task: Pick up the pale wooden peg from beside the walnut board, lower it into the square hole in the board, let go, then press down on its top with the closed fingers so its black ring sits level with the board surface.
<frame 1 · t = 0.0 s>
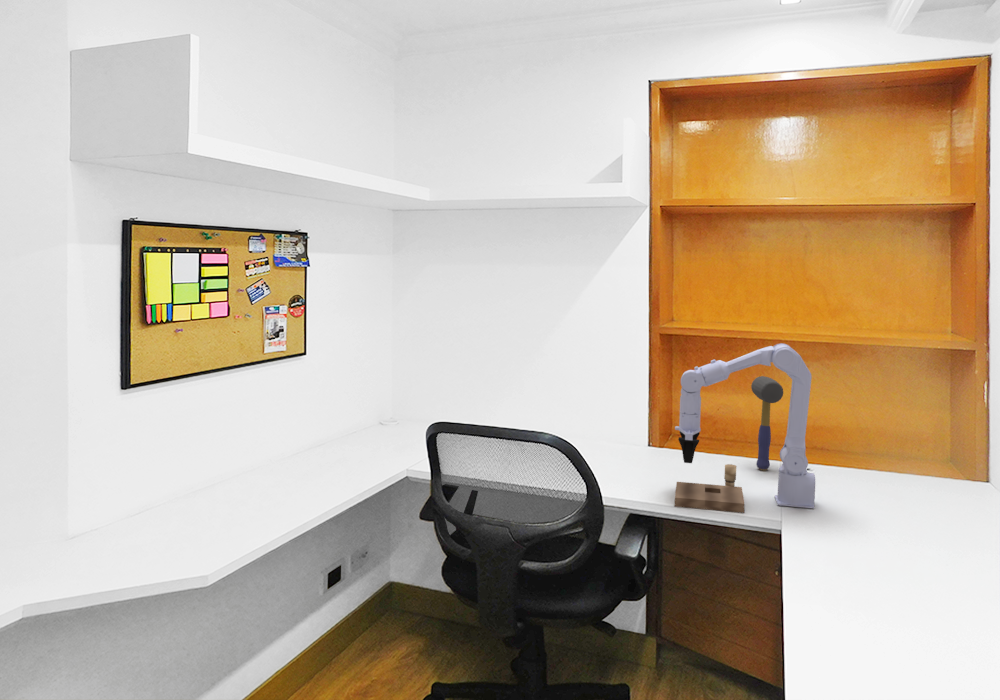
hand: (688, 459, 206), 10 cm above the table, tool pointing down, fingers open, 7 cm apart
peg: (729, 489, 211), on the table
rubber mallet: (762, 470, 231), on the table
board: (716, 500, 201), on the table
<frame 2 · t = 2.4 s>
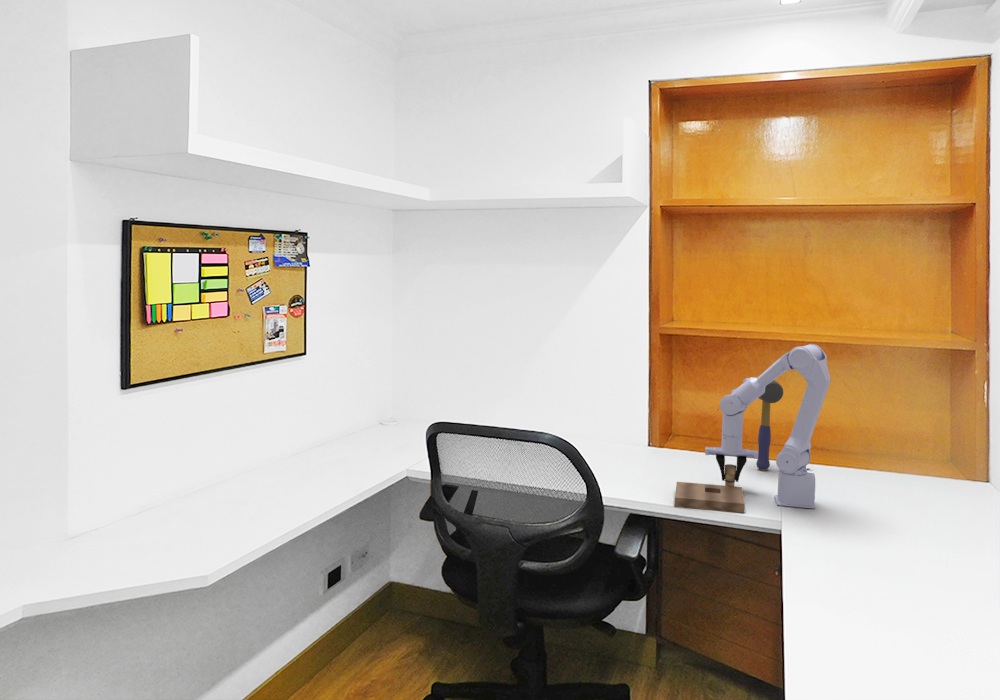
hand: (730, 480, 211), 3 cm above the table, tool pointing down, fingers closed on peg, 3 cm apart
peg: (729, 489, 211), on the table, touching gripper
everything else where it was.
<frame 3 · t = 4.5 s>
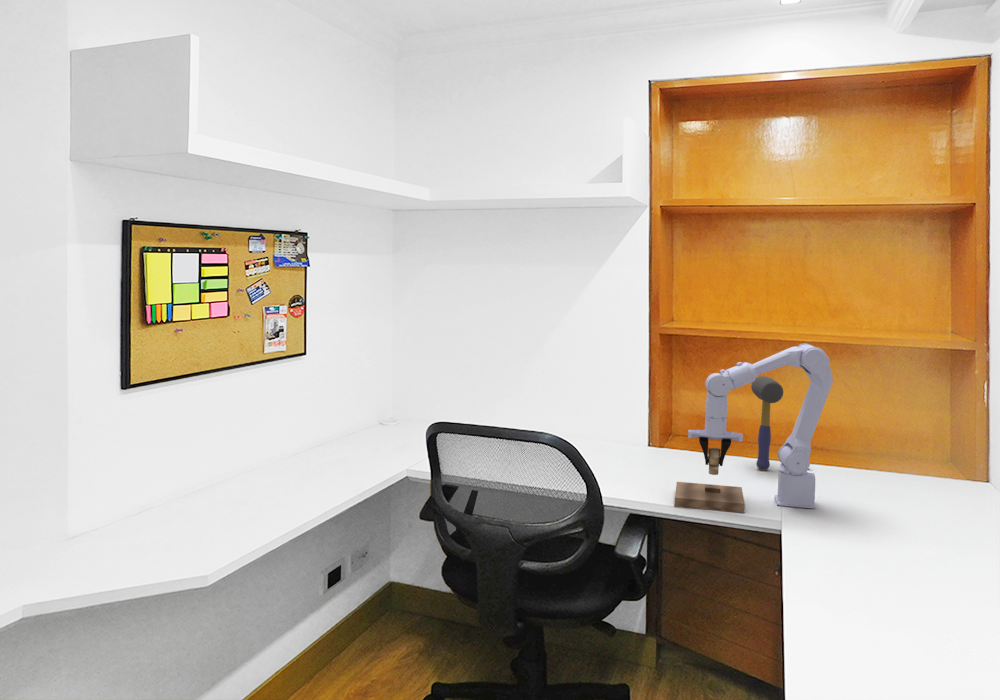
hand: (713, 464, 201), 10 cm above the table, tool pointing down, fingers closed on peg, 3 cm apart
peg: (713, 473, 202), point 7 cm above the table, touching gripper
everything else where it was.
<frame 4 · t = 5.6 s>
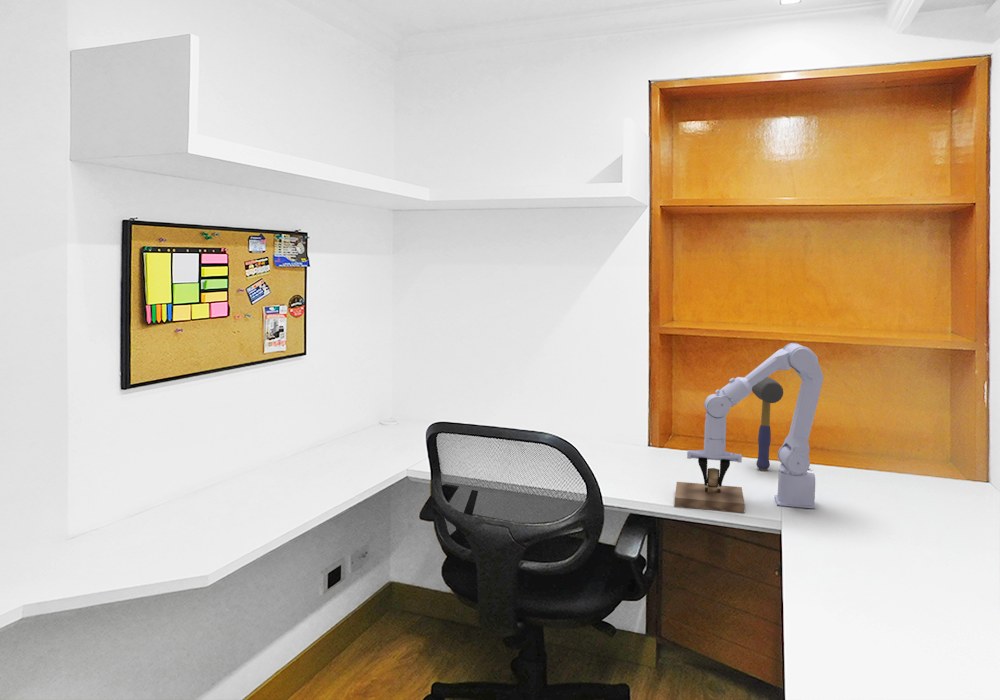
hand: (712, 485, 202), 4 cm above the table, tool pointing down, fingers closed on peg, 3 cm apart
peg: (712, 493, 202), point 1 cm above the table, touching gripper
everything else where it was.
when the fingers open (4 cm above the table, at t = 6.4 s): peg drops 1 cm, resting in board.
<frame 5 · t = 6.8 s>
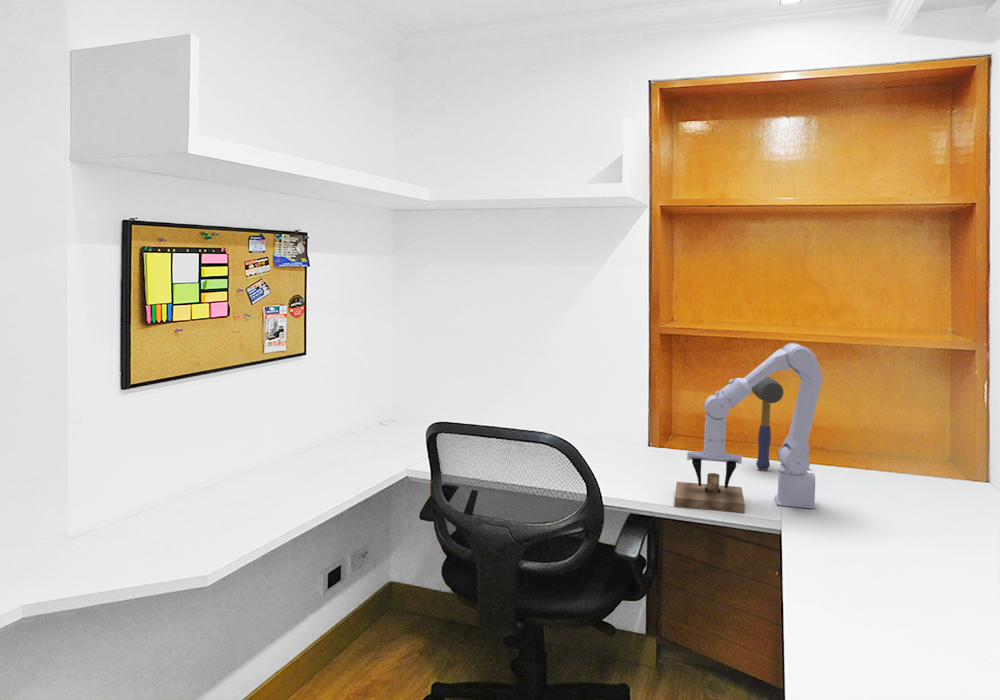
hand: (712, 486, 202), 4 cm above the table, tool pointing down, fingers open, 6 cm apart
peg: (712, 498, 202), resting in board
everything else where it was.
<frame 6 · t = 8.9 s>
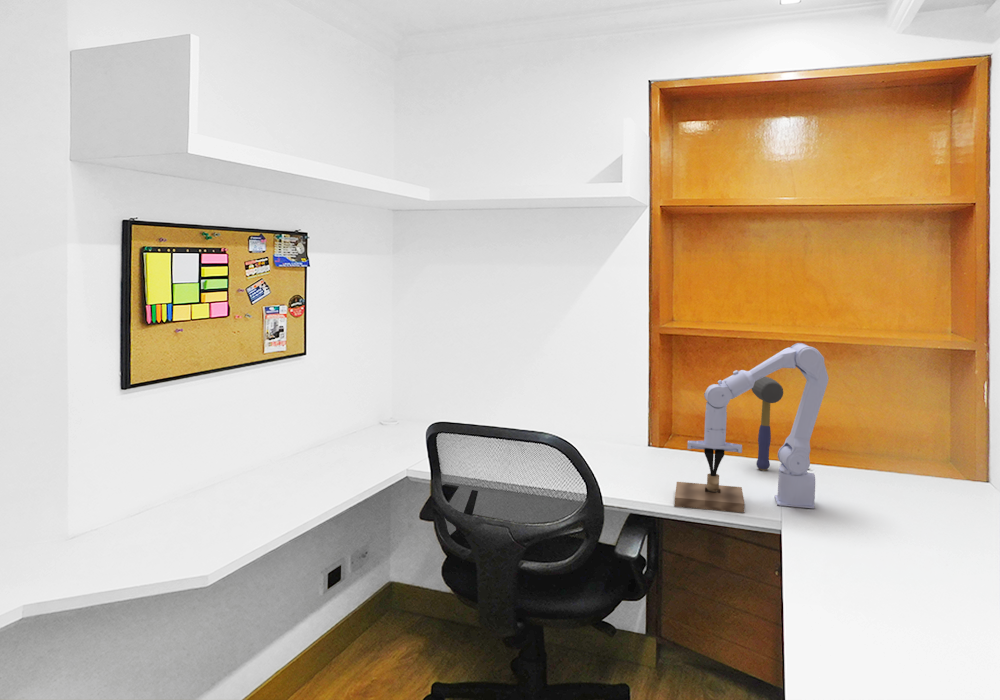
hand: (713, 475, 201), 7 cm above the table, tool pointing down, fingers closed, pressing on peg
peg: (712, 499, 202), resting in board, touching gripper
everything else where it was.
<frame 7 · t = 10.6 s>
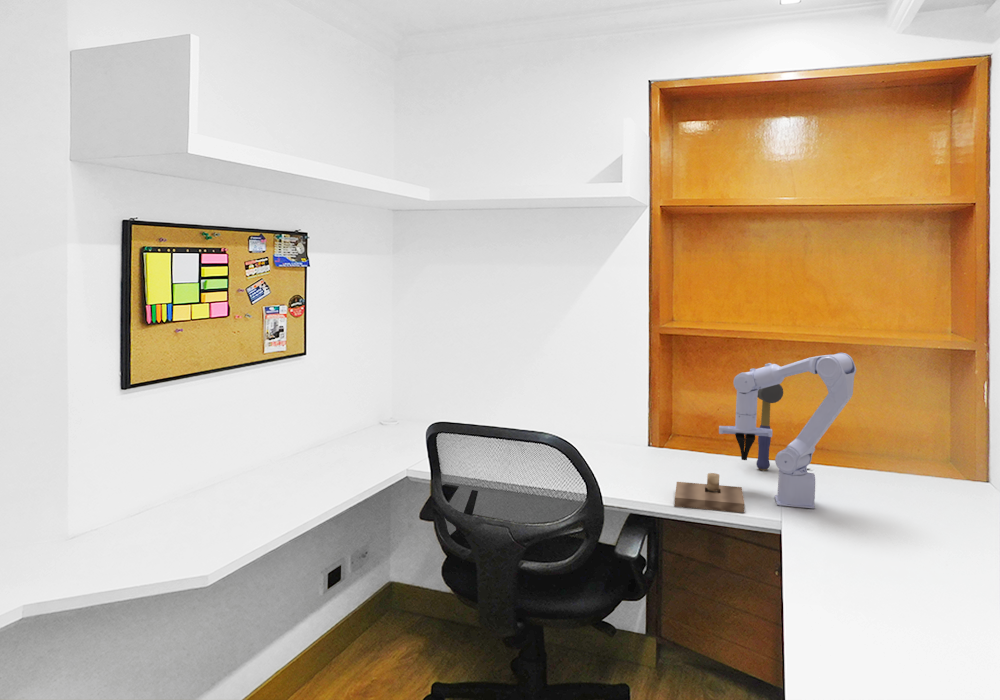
hand: (744, 459, 209), 9 cm above the table, tool pointing down, fingers closed
peg: (712, 498, 202), resting in board
everything else where it was.
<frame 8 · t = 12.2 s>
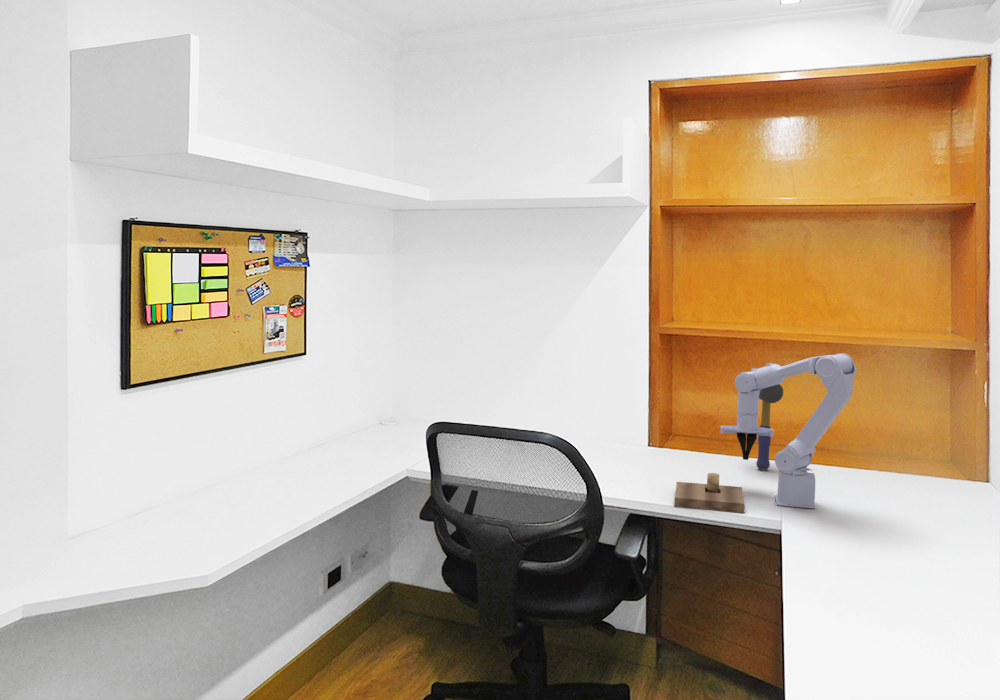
hand: (745, 458, 209), 9 cm above the table, tool pointing down, fingers closed
nothing on the table moved.
at the end: peg 0.1 cm from the target spot on the board, point 0.0 cm above the board's base; peg tilted 0°; the gripper is holding nothing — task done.
